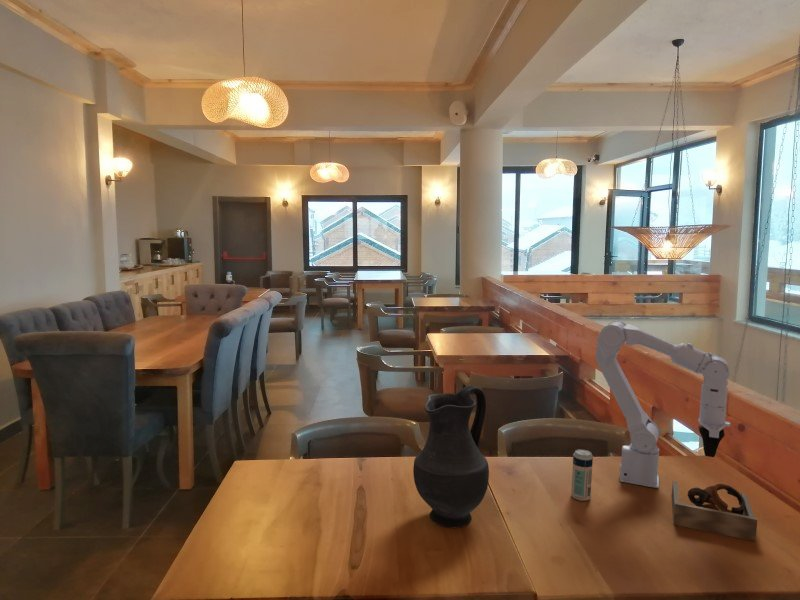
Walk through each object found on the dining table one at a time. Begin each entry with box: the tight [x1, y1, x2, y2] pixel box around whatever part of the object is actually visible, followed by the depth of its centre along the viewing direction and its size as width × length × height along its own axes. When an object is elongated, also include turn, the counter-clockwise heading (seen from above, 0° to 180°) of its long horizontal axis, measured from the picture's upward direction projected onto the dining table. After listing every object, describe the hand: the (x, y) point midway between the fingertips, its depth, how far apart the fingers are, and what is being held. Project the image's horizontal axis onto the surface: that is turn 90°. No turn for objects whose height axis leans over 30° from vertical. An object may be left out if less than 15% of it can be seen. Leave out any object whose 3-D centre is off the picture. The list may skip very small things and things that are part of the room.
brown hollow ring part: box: [687, 483, 745, 515], centre depth 130 cm, size 12×10×8 cm
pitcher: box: [413, 384, 490, 528], centre depth 127 cm, size 17×21×30 cm
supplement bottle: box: [570, 448, 594, 502], centre depth 137 cm, size 5×5×12 cm
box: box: [671, 480, 758, 542], centre depth 129 cm, size 16×16×5 cm
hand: (709, 455), depth 139 cm, fingers closed
